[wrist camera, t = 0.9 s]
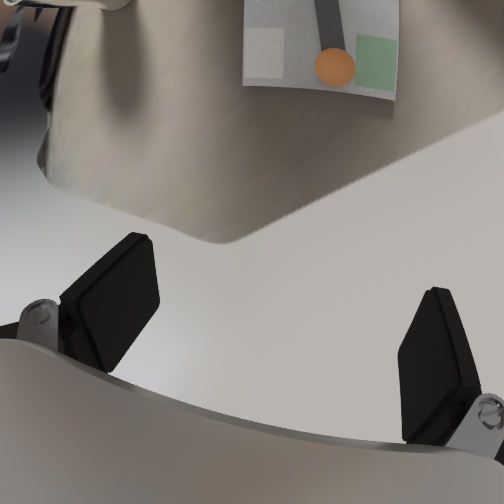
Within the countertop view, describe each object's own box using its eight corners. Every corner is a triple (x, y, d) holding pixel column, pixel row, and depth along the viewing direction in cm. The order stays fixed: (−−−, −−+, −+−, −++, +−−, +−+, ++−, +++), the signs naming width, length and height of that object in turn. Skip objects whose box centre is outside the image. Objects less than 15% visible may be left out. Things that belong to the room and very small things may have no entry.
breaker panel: (251, -51, 20) (245, -59, 18) (393, -43, 17) (396, -51, 15) (248, 85, 28) (241, 85, 26) (391, 99, 25) (395, 101, 23)
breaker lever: (298, -43, 18) (293, -55, 16) (337, -45, 17) (337, -57, 15) (316, 86, 25) (314, 86, 22) (357, 86, 24) (359, 86, 21)
